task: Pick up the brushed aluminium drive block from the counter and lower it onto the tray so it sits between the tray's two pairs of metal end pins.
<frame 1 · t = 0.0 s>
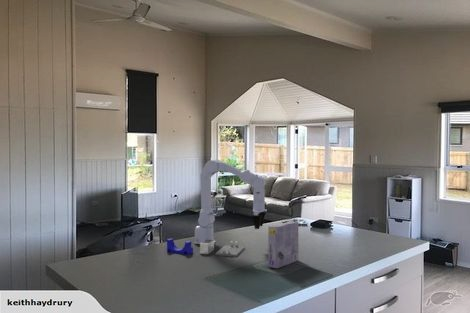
hand: (258, 227, 209), 10 cm above the kitchen island, tool pointing down, fingers open, 7 cm apart
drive: (207, 251, 200), on the kitchen island
pin tray: (230, 251, 200), on the kitchen island
cable clip: (179, 252, 198), on the kitchen island
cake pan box: (284, 264, 180), on the kitchen island
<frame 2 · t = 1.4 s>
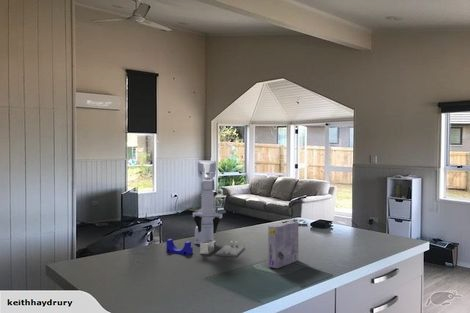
hand: (207, 232, 199), 9 cm above the kitchen island, tool pointing down, fingers open, 7 cm apart
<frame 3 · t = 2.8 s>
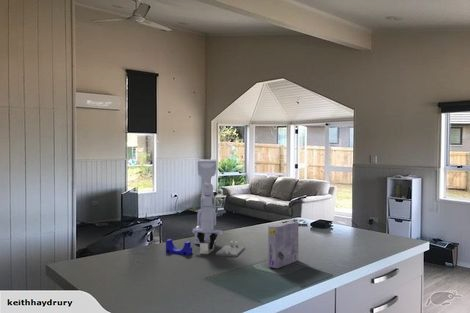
hand: (207, 248, 200), 1 cm above the kitchen island, tool pointing down, fingers closed on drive, 4 cm apart
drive: (207, 251, 200), on the kitchen island, touching gripper
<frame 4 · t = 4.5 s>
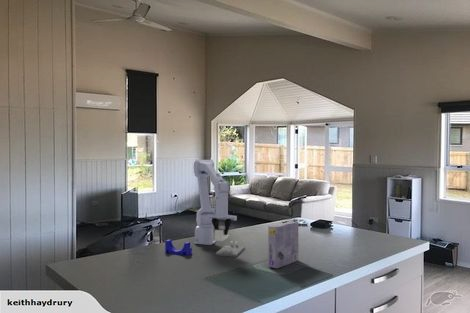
hand: (221, 234, 199), 8 cm above the kitchen island, tool pointing down, fingers closed on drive, 4 cm apart
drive: (221, 238, 199), point 6 cm above the kitchen island, touching gripper
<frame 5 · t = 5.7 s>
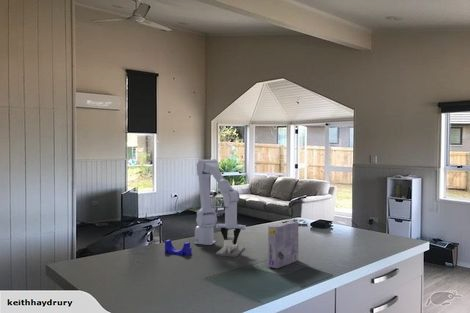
hand: (230, 243, 199), 4 cm above the kitchen island, tool pointing down, fingers closed on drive, 4 cm apart
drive: (230, 248, 199), point 2 cm above the kitchen island, touching gripper
when the fingers open (4 cm above the kitchen island, at t = 6.4 s): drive stays where it is, resting on pin tray.
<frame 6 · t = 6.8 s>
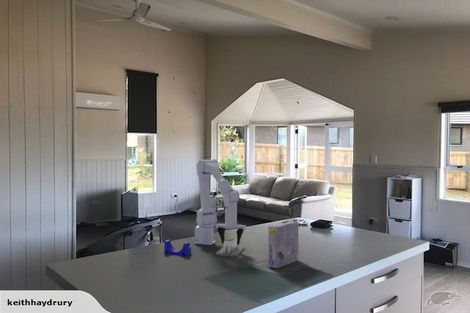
hand: (230, 243, 199), 4 cm above the kitchen island, tool pointing down, fingers open, 7 cm apart
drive: (230, 249, 199), point 1 cm above the kitchen island, touching pin tray
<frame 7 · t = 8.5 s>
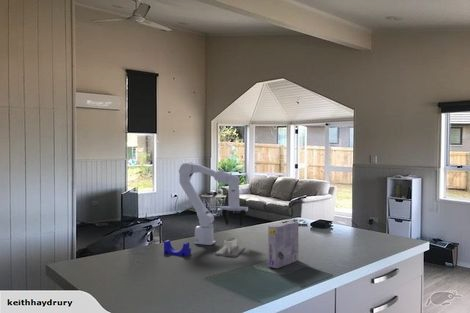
hand: (234, 224, 214), 10 cm above the kitchen island, tool pointing down, fingers open, 7 cm apart
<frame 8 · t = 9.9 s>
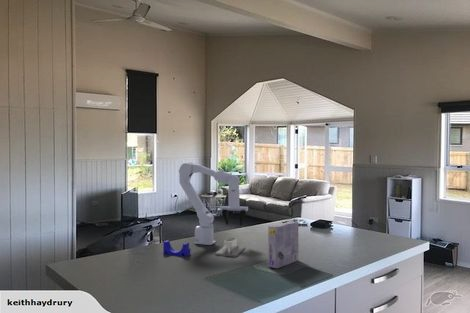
hand: (234, 224, 214), 10 cm above the kitchen island, tool pointing down, fingers open, 7 cm apart
at the end: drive 0.2 cm off-centre on the pin tray, point 1.0 cm above the pin tray's base; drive tilted 0°; the gripper is holding nothing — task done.
